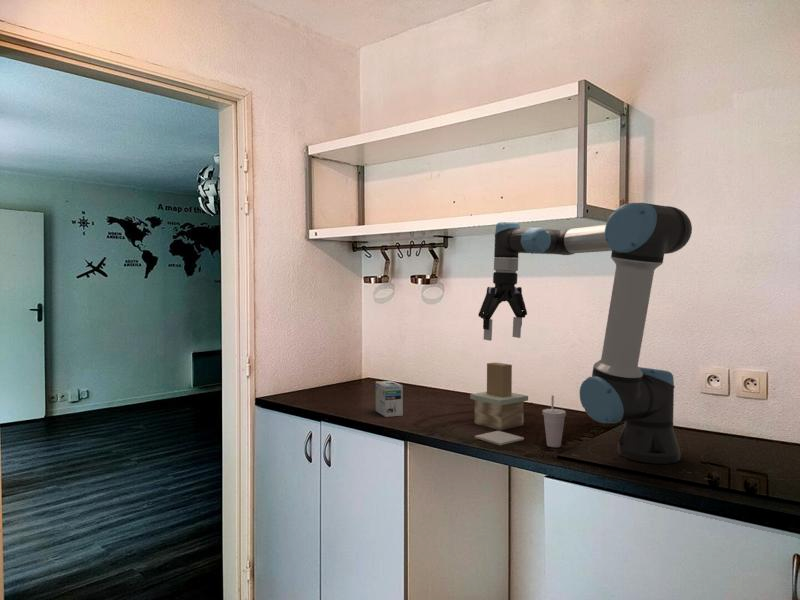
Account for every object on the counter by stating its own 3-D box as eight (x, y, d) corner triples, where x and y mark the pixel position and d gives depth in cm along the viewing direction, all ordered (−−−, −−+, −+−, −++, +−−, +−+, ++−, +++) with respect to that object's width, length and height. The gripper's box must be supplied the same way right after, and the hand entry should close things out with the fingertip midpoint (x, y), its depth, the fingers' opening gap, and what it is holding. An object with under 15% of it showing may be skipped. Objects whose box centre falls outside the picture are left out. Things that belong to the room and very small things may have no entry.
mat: (523, 439, 164) (523, 437, 164) (500, 445, 158) (500, 443, 158) (498, 432, 172) (498, 430, 172) (474, 437, 166) (474, 435, 166)
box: (523, 425, 181) (523, 400, 181) (500, 430, 174) (500, 404, 174) (497, 418, 190) (497, 395, 190) (474, 423, 183) (474, 398, 183)
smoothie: (537, 443, 160) (537, 394, 159) (556, 441, 162) (556, 392, 162) (551, 449, 154) (551, 398, 153) (570, 447, 156) (571, 396, 156)
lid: (528, 400, 181) (528, 364, 181) (500, 405, 173) (500, 368, 173) (497, 394, 191) (498, 360, 191) (470, 398, 183) (470, 363, 183)
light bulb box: (403, 416, 194) (403, 384, 193) (385, 417, 191) (385, 385, 191) (392, 409, 204) (392, 380, 203) (374, 411, 201) (374, 381, 201)
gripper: (522, 271, 188) (518, 334, 190) (468, 270, 173) (465, 339, 174) (540, 272, 182) (536, 337, 184) (486, 271, 167) (483, 342, 169)
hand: (502, 338), depth 179 cm, fingers open, 13 cm apart
